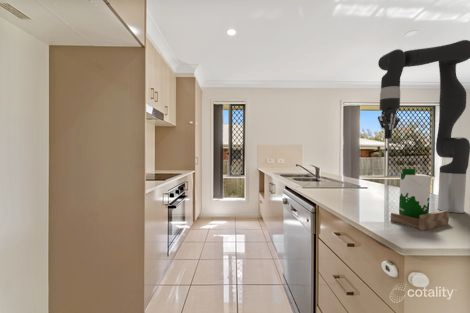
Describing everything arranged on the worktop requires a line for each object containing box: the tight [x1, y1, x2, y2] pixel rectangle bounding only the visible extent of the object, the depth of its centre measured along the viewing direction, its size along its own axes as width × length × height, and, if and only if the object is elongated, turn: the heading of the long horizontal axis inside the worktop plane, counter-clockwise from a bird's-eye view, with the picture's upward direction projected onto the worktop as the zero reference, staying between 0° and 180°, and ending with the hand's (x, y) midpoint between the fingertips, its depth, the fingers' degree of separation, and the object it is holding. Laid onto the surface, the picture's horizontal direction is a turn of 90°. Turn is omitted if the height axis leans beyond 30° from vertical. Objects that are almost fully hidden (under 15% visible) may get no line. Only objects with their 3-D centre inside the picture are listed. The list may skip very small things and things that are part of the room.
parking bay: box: [390, 210, 450, 232], centre depth 94 cm, size 18×12×5 cm, turn 118°
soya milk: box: [398, 167, 432, 219], centre depth 96 cm, size 9×9×20 cm
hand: (388, 138), depth 110 cm, fingers closed
